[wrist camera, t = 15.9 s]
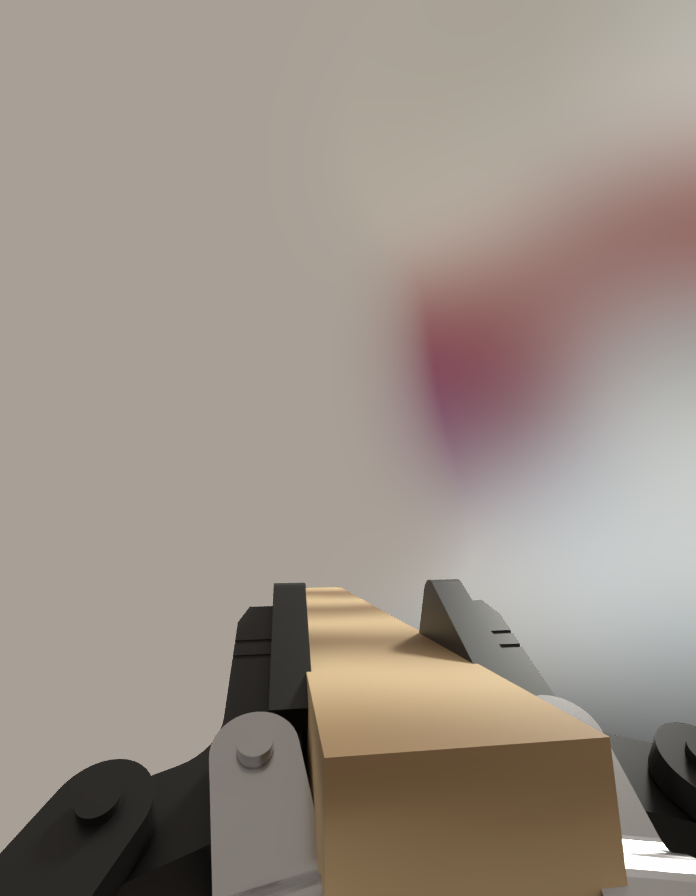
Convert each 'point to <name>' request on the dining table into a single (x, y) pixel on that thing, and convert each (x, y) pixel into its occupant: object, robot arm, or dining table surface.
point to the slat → (446, 770)
